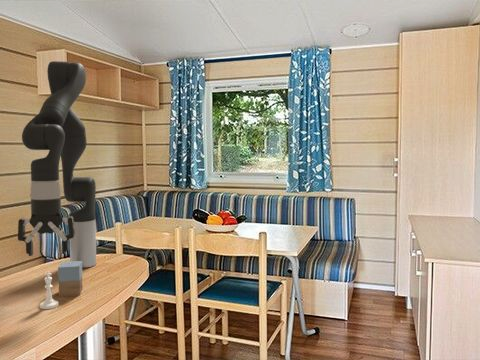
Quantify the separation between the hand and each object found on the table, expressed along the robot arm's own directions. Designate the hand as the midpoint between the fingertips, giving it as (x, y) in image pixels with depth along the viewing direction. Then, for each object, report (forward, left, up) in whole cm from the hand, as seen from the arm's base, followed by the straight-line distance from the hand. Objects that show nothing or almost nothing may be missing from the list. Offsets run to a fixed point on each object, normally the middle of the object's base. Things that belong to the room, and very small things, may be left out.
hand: (47, 254), depth 117 cm
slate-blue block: (-10, +5, -11) cm, 15 cm away
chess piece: (0, 0, -15) cm, 15 cm away
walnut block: (-10, +5, -15) cm, 19 cm away
